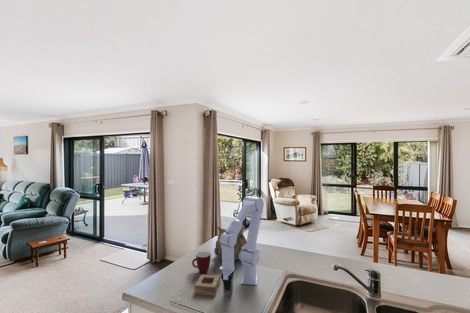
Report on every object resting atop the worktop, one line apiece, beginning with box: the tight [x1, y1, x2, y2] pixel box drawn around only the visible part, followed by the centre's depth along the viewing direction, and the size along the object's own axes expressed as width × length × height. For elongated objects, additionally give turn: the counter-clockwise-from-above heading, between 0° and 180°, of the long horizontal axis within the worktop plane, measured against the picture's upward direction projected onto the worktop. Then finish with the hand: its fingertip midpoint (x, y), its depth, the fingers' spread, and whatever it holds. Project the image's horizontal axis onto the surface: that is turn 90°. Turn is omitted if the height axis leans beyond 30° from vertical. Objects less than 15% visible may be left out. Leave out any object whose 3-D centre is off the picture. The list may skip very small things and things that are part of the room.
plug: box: [222, 274, 234, 295], centre depth 110 cm, size 4×4×7 cm
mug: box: [191, 251, 212, 275], centre depth 133 cm, size 10×8×10 cm
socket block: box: [194, 273, 221, 297], centre depth 116 cm, size 11×10×4 cm
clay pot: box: [213, 224, 247, 261], centre depth 153 cm, size 25×24×22 cm
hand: (228, 287), depth 110 cm, fingers closed on plug, 4 cm apart
